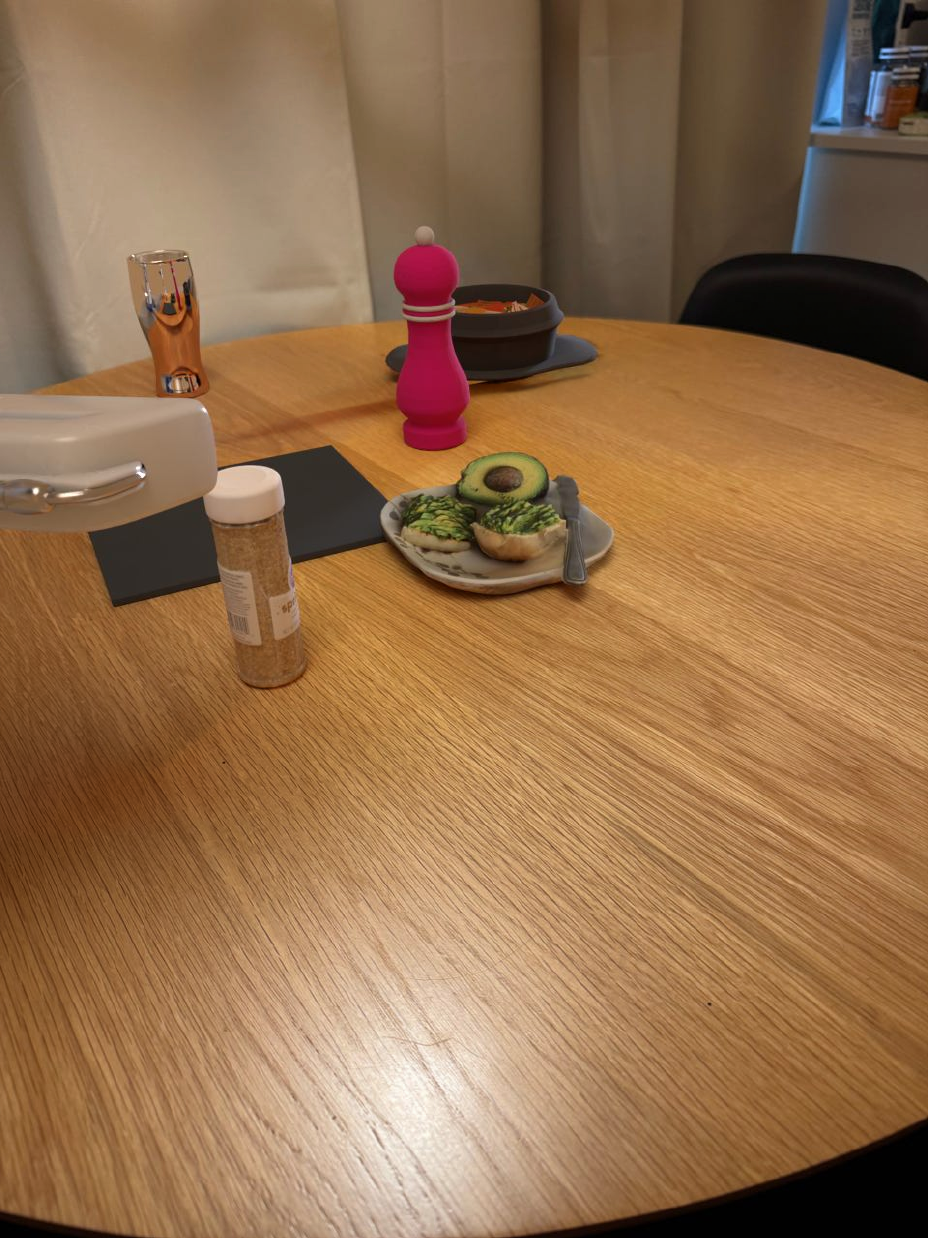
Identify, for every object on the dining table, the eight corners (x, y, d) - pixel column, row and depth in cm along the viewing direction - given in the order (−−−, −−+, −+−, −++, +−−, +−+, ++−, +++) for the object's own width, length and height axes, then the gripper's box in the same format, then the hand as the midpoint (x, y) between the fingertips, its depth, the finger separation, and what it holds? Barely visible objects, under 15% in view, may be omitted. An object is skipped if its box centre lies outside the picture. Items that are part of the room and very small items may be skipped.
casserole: (579, 342, 124) (581, 273, 120) (613, 388, 108) (616, 311, 104) (383, 354, 122) (378, 285, 118) (389, 403, 107) (383, 325, 102)
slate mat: (113, 607, 71) (111, 600, 70) (77, 501, 87) (75, 495, 87) (416, 533, 79) (416, 527, 79) (331, 450, 95) (331, 444, 95)
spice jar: (317, 678, 62) (290, 483, 55) (247, 698, 60) (211, 500, 53) (295, 643, 66) (267, 456, 58) (228, 662, 64) (192, 471, 57)
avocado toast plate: (676, 582, 71) (683, 525, 69) (452, 634, 65) (451, 575, 63) (552, 481, 86) (555, 432, 84) (361, 517, 80) (358, 465, 78)
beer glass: (181, 404, 109) (154, 264, 101) (139, 395, 112) (110, 258, 104) (226, 386, 113) (204, 251, 106) (184, 378, 117) (160, 246, 109)
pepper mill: (456, 456, 93) (447, 234, 82) (387, 448, 95) (369, 232, 85) (481, 429, 99) (475, 219, 88) (415, 423, 101) (402, 217, 90)
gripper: (53, 402, 29) (284, 344, 41) (-398, 390, 35) (-86, 343, 47) (92, 600, 31) (299, 490, 43) (-338, 554, 38) (-55, 470, 50)
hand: (95, 413), depth 45 cm, fingers open, 8 cm apart
